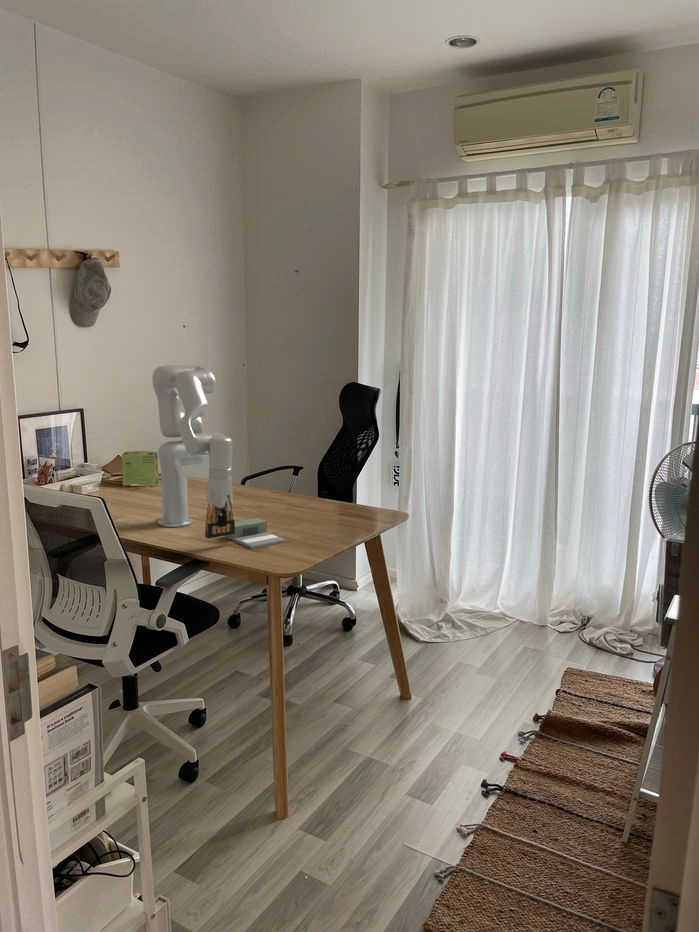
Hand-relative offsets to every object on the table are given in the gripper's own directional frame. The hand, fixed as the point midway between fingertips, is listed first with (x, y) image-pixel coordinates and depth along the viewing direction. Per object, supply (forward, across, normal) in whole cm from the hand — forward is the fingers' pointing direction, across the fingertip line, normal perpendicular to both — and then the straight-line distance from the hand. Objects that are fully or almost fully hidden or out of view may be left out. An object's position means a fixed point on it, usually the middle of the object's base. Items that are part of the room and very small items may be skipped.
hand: (220, 525), depth 252 cm
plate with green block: (+8, 0, +14) cm, 16 cm away
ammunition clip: (+4, 0, 0) cm, 4 cm away
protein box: (+11, -108, +19) cm, 110 cm away
